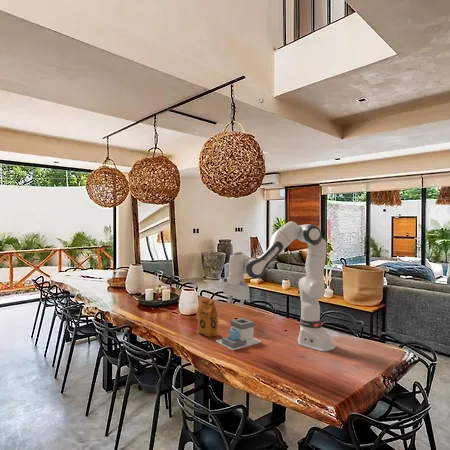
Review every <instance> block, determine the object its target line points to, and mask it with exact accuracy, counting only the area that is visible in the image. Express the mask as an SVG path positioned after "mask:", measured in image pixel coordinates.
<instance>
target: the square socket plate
mask: <svg viewBox="0 0 450 450" xmlns="http://www.w3.org/2000/svg"><path fill="white" fill-rule="evenodd" d="M254 325H255V322H254V321H252V320H249V319H246V318H244V317H242V318H238V319H232V320H230V327H229V328H230V329H229V330H232V328H235V329H237V330H239V331H240V336H239V340H237V341H232V340H230V339H229V336H225V337H222V338H221V339H220V338H219V339H216V340H215V342H216V343H218V344H220V345H221V346H223V347H225V348H227V349H229V350H231V351H235V350H239V349H243V348H247V347H250V346H253V345H257V344H261V343H262V340H260V339H257V338H255V337H254V328H255V327H254Z"/></svg>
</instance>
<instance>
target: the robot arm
mask: <svg viewBox="0 0 450 450" xmlns="http://www.w3.org/2000/svg"><path fill="white" fill-rule="evenodd" d="M294 240H297V241H299V242H302V243H305V244H306V245H307V253H306V259H305V264H304V269H305V276H303V277H301V278H300V279H299V280H298V288H299V290H298V291H299V298H300V308H301V309H300V319H299V325H300V327H299V335H298V338H297V342H298V343H297V344H298V346H301V347H305V348H308V349H312V350H315V351H317V352H318V351H319V352H330V351H333V350H334V349H336V345H335V344H334V343H332V337H331V335H330V333H328V332H327V330H325V329H324V327H323V324H324V321H323V322H322V321H321V319H320V318H321V306H320V303H319V299H321V298H323V297H324V295H325V294H326V287H325V276H324V275H325V273H324V272H325V265H326V258H327V241H326V240H325V239H324V238H323V236H322V230H321V229H320V228H319V227H318V226H317V225H315V224H309V223H308V224H307V223H306V224H305V223H304V224H297V223H296V222H294V221H288V222H286V223H284V224H283V225H282V226H280V227H279V228H278V229H277V230H276V231H275V232H273V234H272V235H271V236H270V237H269V247H268V248H267V249H266V250H265V252H263V253H262V254H261V255H260V256H259V257H258V258H256V259H255V258H253V257H251V256H249V255H246V254H245V253H244V252H242V251H240V252H234V253H231V254H230V256H229V261H228V269H229V271H228V272H229V273H228V276H227V277H223V279H222V282H223V284H222V292H223V294H224V295H227V299H228V303H229V304H232V303H234V302H233V299H232V297H234V298H238V299H240V302H238V306H239V307H243V306H244V302H245V301H246V300H249V299H250V287H249V284H248V282H245V275H246V274H247V275H248V276H249V277H250V278H252V279H259V278H261V277H262V276H263V275H264V273H266V270H267V267H268V266H269V265H270V264H271V263H272V262H273V261H274V260H276V258H277V257H278V256H279V254H280V253H281V252H282V251H284V250H285V249H286V248H288V246H290V245H291V244H292V242H294Z"/></svg>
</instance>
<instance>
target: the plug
mask: <svg viewBox="0 0 450 450" xmlns="http://www.w3.org/2000/svg"><path fill="white" fill-rule="evenodd" d="M228 333H229V334H228V337H229V339H230V340H232V341H237V340H239V336H240V331H239V330H237V329H235V328H232V330H230V329H229V332H228Z"/></svg>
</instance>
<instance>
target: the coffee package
mask: <svg viewBox="0 0 450 450" xmlns="http://www.w3.org/2000/svg"><path fill="white" fill-rule="evenodd" d="M200 300H201V303H200V306H199V309H198V311H197V312H198V315H197V317H198V318H197V321H198V322H197V332H198V333H200V334H202V335H203V336H206V337H209V338H211V337H215V336H218V326H219V323H218V312H217V308H216V304H215V302H214V300H210V299H207V298H201V299H200Z"/></svg>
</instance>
